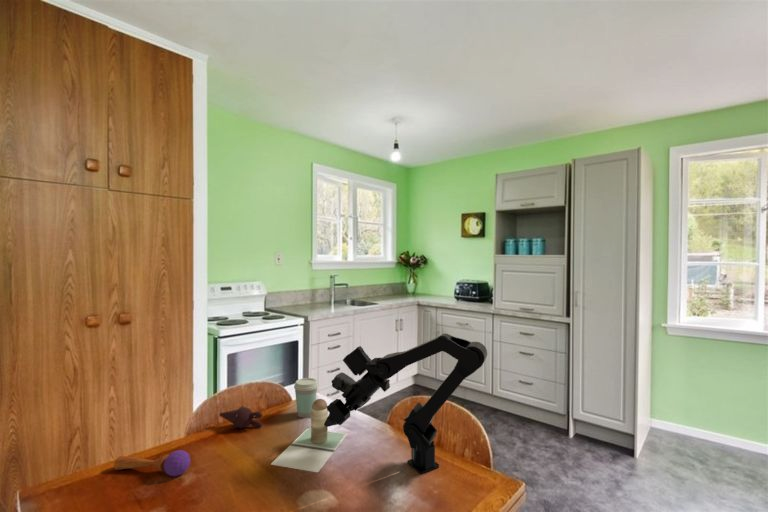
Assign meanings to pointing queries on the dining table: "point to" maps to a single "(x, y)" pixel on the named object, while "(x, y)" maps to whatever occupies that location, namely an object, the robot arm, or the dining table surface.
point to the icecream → (242, 417)
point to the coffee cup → (305, 395)
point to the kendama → (158, 463)
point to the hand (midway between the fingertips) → (333, 419)
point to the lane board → (309, 452)
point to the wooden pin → (319, 421)
